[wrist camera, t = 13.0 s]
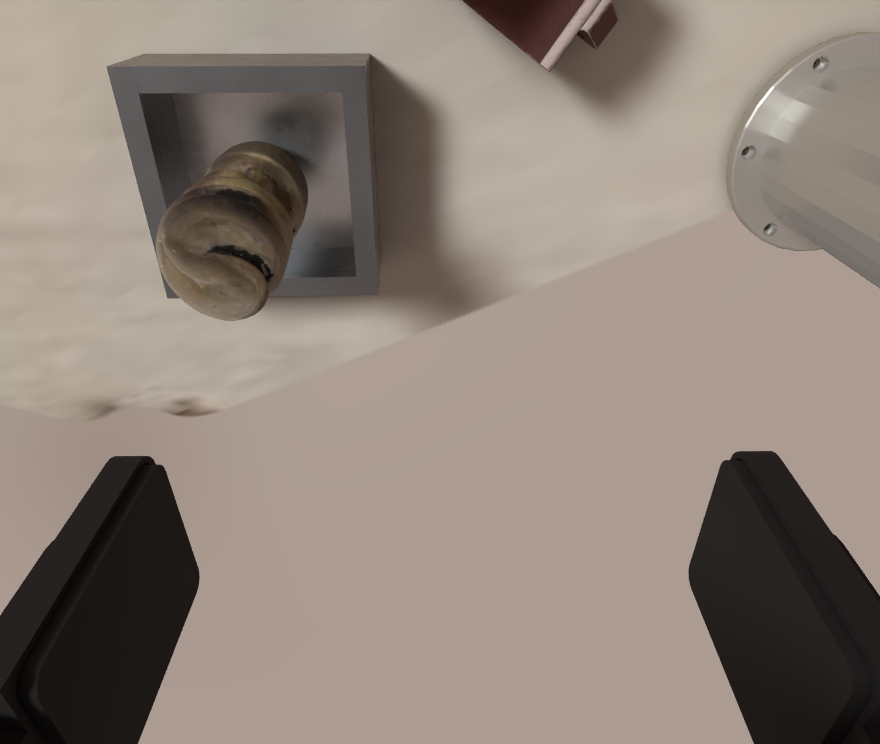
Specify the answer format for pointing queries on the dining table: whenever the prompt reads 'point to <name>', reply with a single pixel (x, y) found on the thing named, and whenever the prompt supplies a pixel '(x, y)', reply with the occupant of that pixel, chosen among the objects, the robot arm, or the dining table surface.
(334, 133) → the frame
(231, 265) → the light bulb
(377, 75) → the dining table surface
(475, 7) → the dark brown lumpy piece
